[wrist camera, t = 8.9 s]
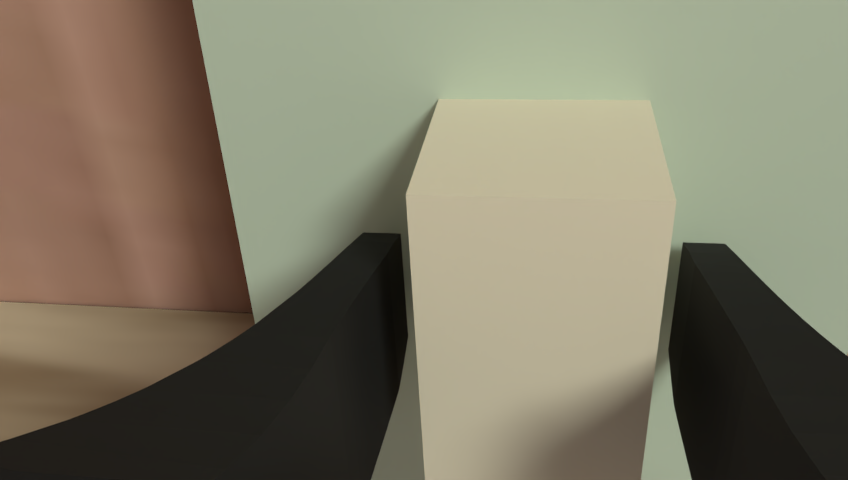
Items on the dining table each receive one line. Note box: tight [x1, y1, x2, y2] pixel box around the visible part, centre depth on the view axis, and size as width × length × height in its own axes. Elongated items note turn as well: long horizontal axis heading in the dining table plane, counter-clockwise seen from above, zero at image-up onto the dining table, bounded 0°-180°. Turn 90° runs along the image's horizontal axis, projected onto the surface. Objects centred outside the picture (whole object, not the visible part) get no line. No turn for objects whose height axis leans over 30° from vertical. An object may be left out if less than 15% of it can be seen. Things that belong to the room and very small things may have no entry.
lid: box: [192, 0, 848, 480], centre depth 13 cm, size 17×10×5 cm, turn 3°
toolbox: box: [0, 302, 255, 442], centre depth 16 cm, size 17×22×5 cm
